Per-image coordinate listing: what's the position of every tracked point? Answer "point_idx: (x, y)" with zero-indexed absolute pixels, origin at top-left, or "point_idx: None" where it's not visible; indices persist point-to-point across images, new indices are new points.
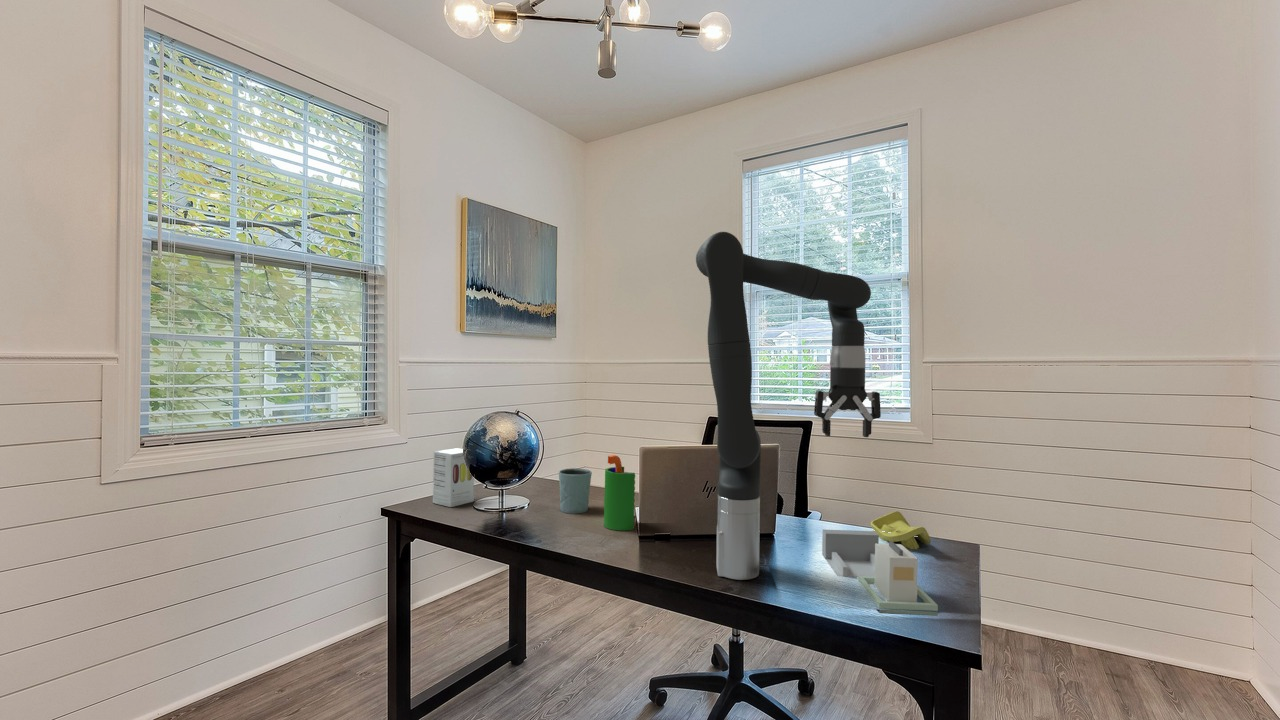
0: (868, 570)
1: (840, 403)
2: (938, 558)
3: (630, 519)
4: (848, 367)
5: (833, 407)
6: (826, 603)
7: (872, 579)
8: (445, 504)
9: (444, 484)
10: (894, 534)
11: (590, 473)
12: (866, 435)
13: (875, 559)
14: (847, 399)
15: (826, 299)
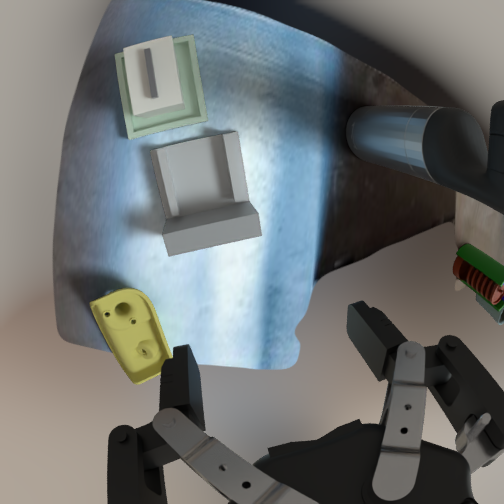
0: (185, 171)
1: (395, 439)
2: (85, 276)
3: (466, 254)
4: None
5: (420, 398)
6: (261, 51)
7: (186, 119)
8: None
9: None
10: (138, 313)
11: (501, 312)
12: (183, 347)
13: (183, 103)
14: (349, 493)
15: None
